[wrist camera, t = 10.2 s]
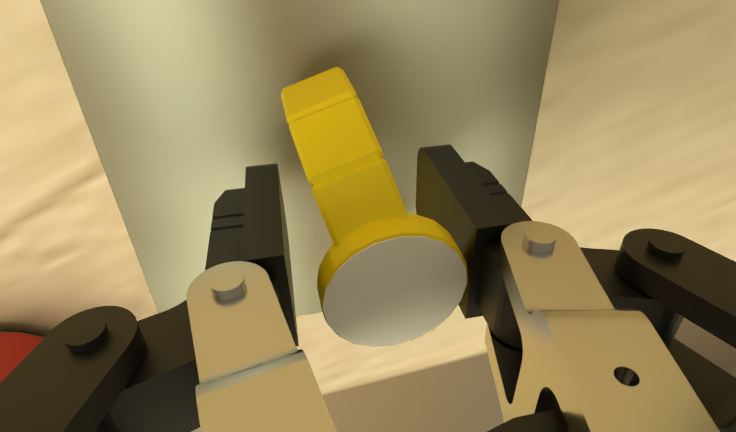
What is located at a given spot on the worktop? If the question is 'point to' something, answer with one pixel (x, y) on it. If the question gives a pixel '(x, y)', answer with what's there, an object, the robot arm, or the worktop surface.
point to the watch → (368, 224)
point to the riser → (266, 112)
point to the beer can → (15, 350)
